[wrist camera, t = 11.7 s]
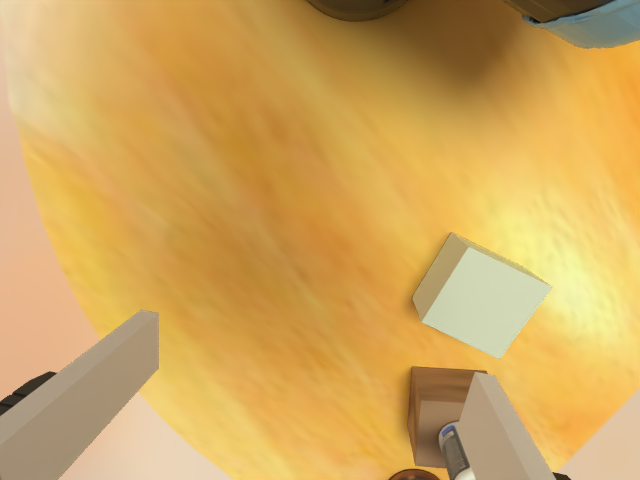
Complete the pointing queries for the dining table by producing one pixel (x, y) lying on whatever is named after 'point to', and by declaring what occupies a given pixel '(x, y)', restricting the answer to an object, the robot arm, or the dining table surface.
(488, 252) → the sage block
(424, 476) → the vase
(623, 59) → the dining table surface
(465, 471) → the pill bottle
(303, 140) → the dining table surface
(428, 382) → the walnut block
